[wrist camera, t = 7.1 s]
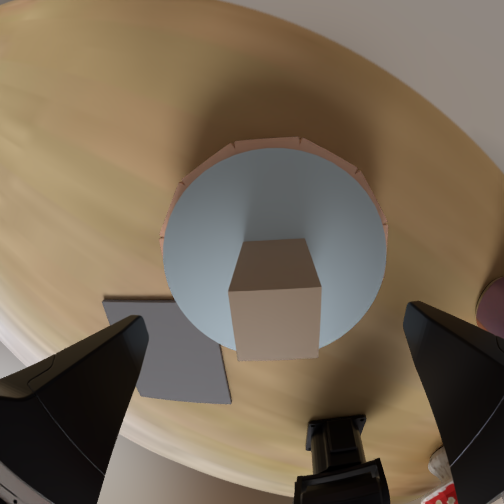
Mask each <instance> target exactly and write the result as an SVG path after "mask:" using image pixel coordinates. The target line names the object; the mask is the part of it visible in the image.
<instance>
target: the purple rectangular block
mask: <svg viewBox="0 0 504 504" xmlns="http://www.w3.org/2000/svg"><path fill="white" fill-rule="evenodd" d="M476 321H477V325H478V327H479V328H481V329H484V330H486V331H488V332H490V333H492V334H494V335H495V336H496V335H497V336H499V337H501V338H503V339H504V277H500V278H497V279H495V280H494V281H492V282H491V283H490V284H489V285H488V286H487V287H486V289H485V290H484V291H483V293H482V295H481V297H480V299H479V301H478V304H477V308H476Z"/></svg>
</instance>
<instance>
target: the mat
mask: <svg viewBox="0 0 504 504" xmlns="http://www.w3.org/2000/svg"><path fill="white" fill-rule="evenodd" d="M102 303H103V306H104V309H105V312H106V315H107V318H108V321H109V323H110V325H112V324H114V323H116V322H118V321H120V320H122V319H124V318H126V317H128V316H130V315H141V316H142V317H143V318H144V321H145V324H146V328H147V331H148V334H149V342H148V346H147V350H146V353H145V357H144V361H143V365H142V368H141V372H140V375H139V378H138V381H137V384H136V387H137V390H138V392H139V394H140V396H142V397H149V398H157V399H165V400H174V401H184V402H196V403H212V404H231V403H232V400H231V396H230V391H229V386H228V382H227V377H226V372H225V367H224V362H223V357H222V352H221V347H220V344H219V343H217V342H216V341H214V340H212V339H211V338H209V337H208V336H206V335H205V334H204V333H202V332H201V331H200V330H199V329H197V328H196V327H195V326H194V325H193V324H192V323H191V322H190V321H189V320H188V318H187V317H186V316H185V314H184V313H183V312H182V311H181V309H180V308H179V306H178V304H177V303H176V301H175V300H103V301H102Z"/></svg>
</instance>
